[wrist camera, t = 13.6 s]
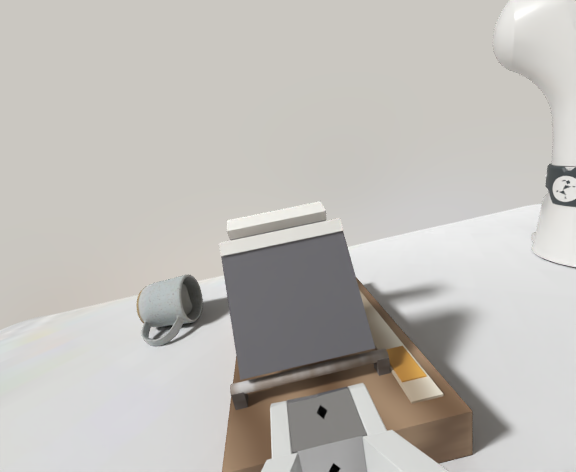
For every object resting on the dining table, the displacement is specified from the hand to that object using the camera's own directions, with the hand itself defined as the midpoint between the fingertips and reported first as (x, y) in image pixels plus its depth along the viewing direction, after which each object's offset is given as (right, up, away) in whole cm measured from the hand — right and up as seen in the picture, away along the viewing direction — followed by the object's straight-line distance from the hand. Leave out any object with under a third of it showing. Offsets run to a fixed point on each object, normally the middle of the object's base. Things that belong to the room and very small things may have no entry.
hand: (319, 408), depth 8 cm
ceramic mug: (-20, -10, +36) cm, 42 cm away
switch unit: (+2, -9, +23) cm, 24 cm away
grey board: (+1, -6, +13) cm, 14 cm away
